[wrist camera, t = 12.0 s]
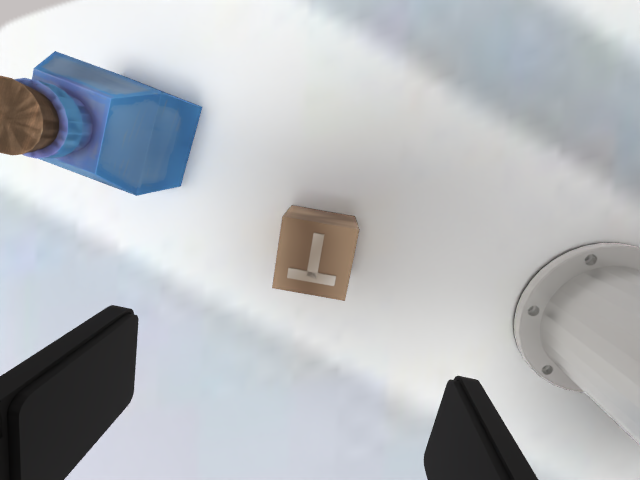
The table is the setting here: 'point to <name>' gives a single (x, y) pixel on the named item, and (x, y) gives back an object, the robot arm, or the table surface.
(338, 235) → the letter cube
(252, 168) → the table surface
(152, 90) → the perfume bottle
